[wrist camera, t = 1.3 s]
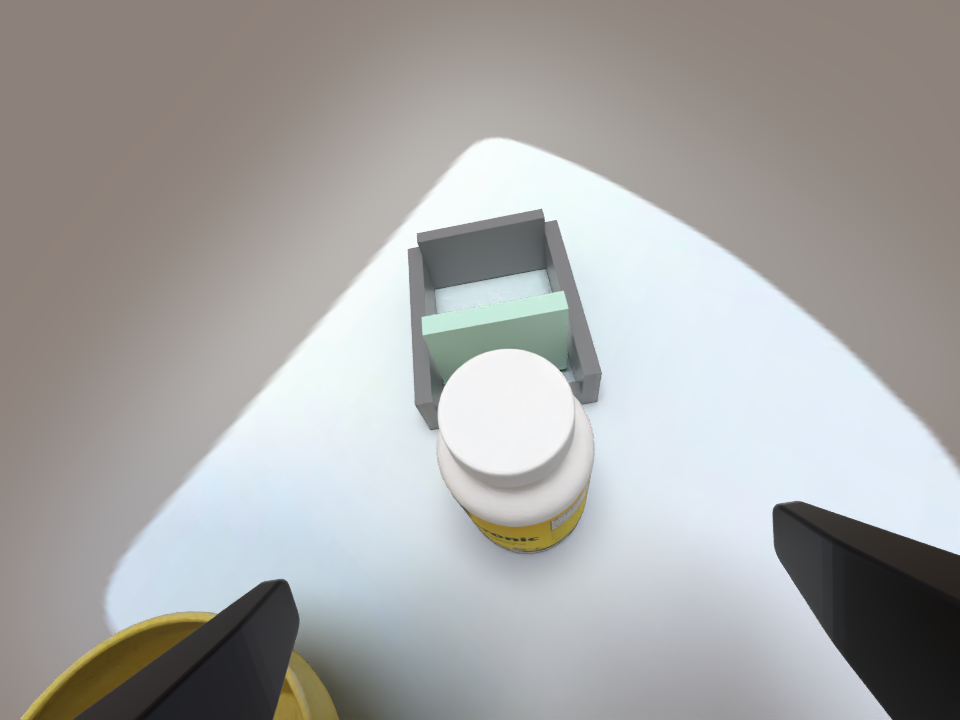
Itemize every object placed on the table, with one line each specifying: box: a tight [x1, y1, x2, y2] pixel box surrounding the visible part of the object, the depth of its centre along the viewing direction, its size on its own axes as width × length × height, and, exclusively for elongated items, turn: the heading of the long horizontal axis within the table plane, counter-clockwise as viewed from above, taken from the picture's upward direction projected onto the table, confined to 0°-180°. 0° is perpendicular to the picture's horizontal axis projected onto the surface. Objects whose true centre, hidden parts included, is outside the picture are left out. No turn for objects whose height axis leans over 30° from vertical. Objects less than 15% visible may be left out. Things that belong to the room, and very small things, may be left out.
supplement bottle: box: [437, 349, 594, 553], centre depth 17 cm, size 5×5×10 cm
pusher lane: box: [408, 209, 602, 430], centre depth 25 cm, size 10×9×4 cm
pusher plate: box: [422, 291, 569, 385], centre depth 22 cm, size 1×6×5 cm, turn 96°
